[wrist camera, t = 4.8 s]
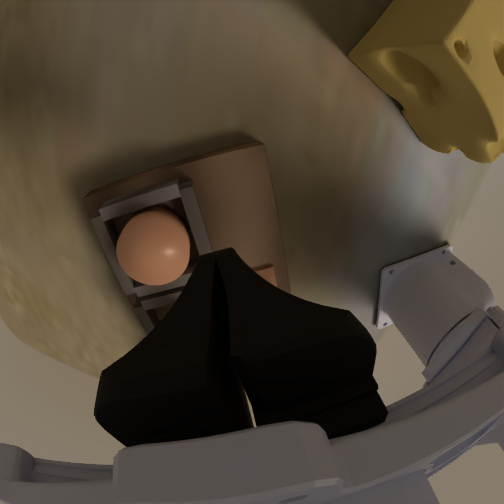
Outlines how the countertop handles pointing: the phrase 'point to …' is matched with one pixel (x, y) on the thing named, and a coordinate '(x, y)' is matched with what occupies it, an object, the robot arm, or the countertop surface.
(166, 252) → the terracotta button
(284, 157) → the countertop surface
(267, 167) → the button panel
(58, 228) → the countertop surface
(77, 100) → the countertop surface
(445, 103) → the cheese
